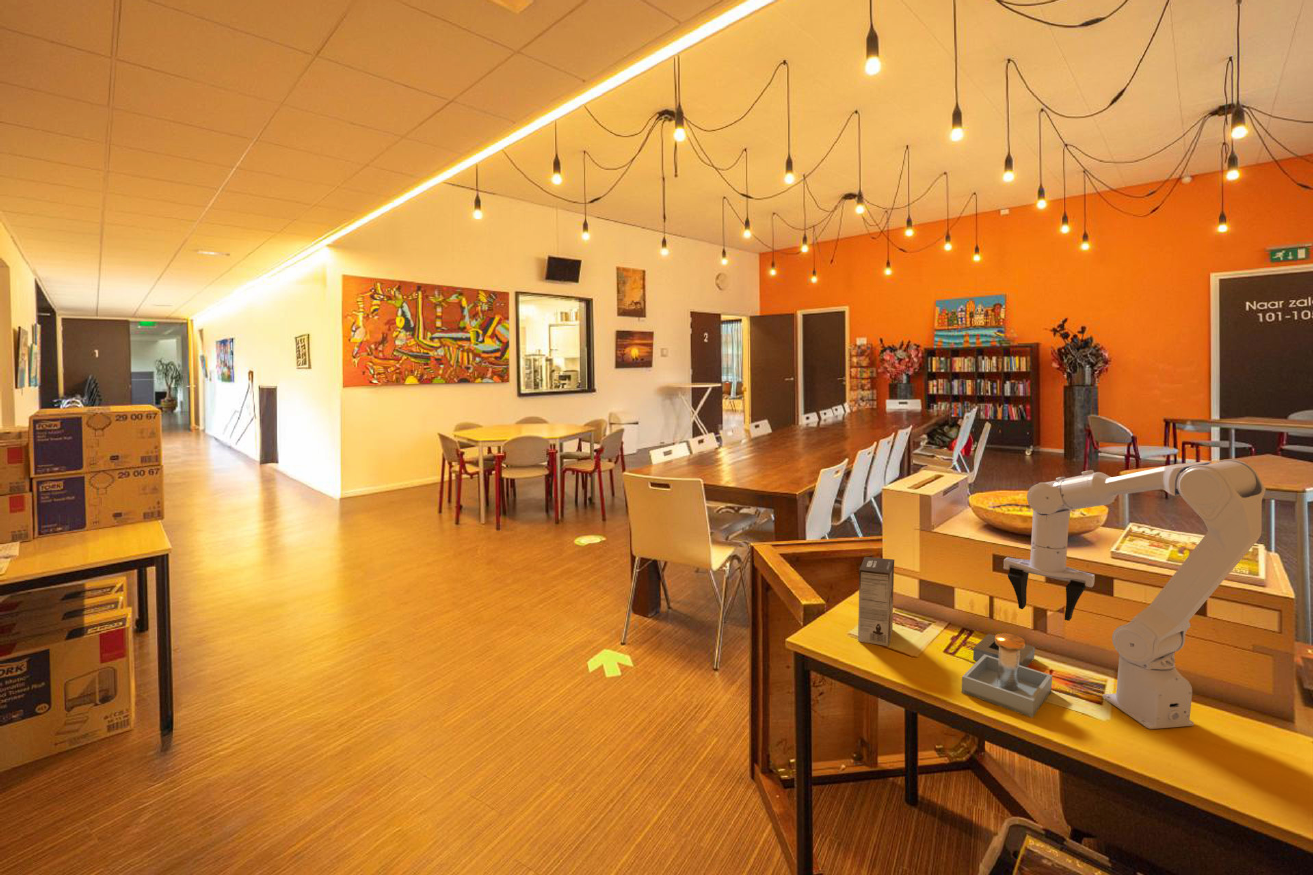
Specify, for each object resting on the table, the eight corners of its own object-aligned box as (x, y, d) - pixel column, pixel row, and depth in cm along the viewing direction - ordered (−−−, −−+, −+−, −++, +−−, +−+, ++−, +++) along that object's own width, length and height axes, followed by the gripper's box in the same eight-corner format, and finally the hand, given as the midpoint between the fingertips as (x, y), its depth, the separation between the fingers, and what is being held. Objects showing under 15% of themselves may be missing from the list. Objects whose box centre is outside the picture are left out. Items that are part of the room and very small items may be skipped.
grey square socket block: (1034, 658, 120) (1034, 646, 120) (1020, 674, 115) (1021, 662, 114) (987, 644, 126) (988, 633, 126) (973, 659, 121) (973, 647, 120)
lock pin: (1028, 692, 108) (1031, 644, 107) (1004, 694, 107) (1006, 646, 106) (1010, 678, 112) (1013, 632, 111) (987, 680, 112) (989, 634, 111)
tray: (1051, 690, 109) (1052, 675, 109) (1032, 717, 101) (1033, 700, 101) (983, 668, 117) (984, 654, 117) (961, 692, 109) (962, 676, 109)
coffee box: (862, 624, 138) (864, 555, 135) (893, 628, 135) (894, 558, 133) (857, 641, 129) (858, 568, 127) (889, 647, 127) (891, 572, 124)
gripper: (1100, 547, 113) (1095, 617, 114) (1013, 532, 123) (1009, 596, 125) (1091, 556, 108) (1086, 629, 110) (1001, 540, 118) (997, 607, 120)
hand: (1044, 612), depth 117 cm, fingers open, 7 cm apart
